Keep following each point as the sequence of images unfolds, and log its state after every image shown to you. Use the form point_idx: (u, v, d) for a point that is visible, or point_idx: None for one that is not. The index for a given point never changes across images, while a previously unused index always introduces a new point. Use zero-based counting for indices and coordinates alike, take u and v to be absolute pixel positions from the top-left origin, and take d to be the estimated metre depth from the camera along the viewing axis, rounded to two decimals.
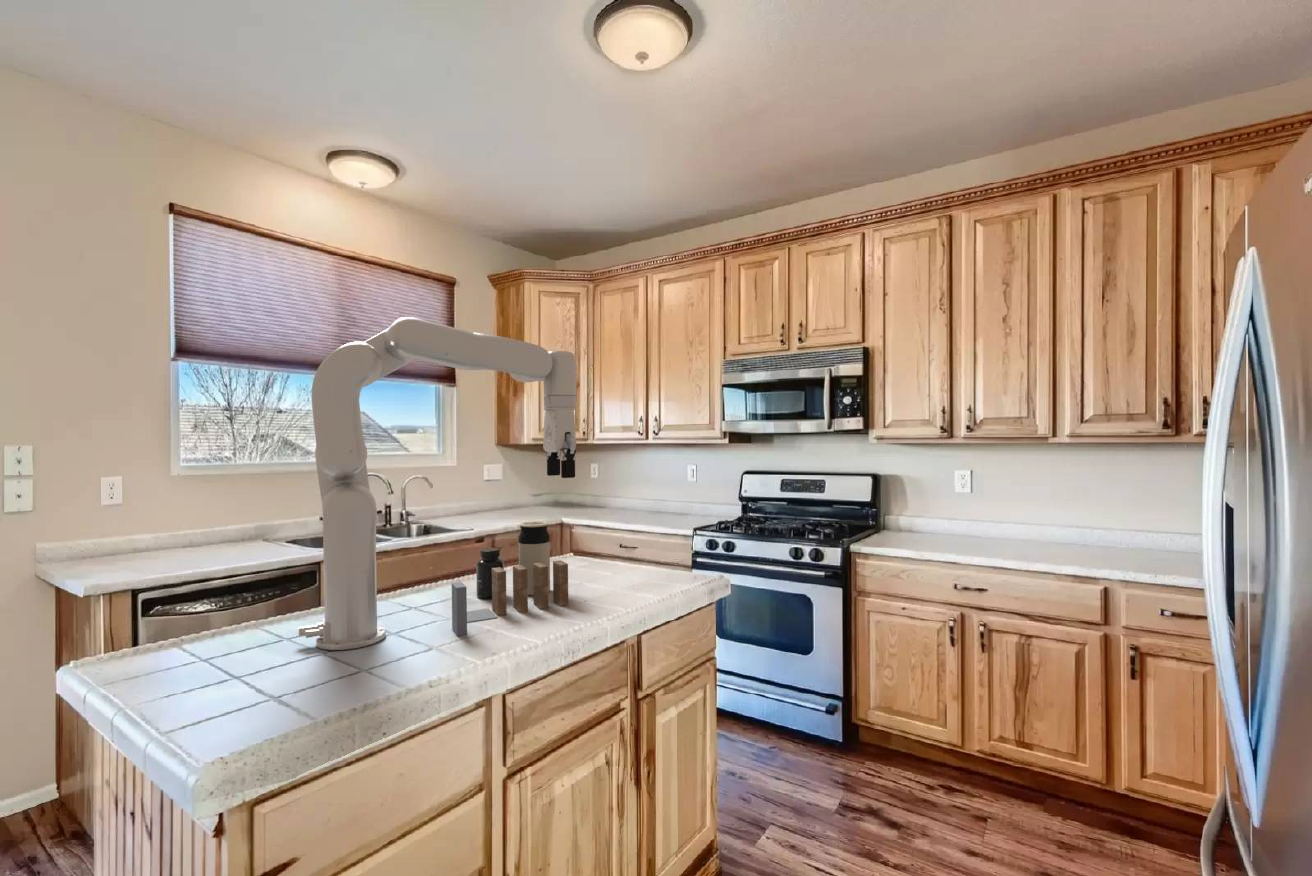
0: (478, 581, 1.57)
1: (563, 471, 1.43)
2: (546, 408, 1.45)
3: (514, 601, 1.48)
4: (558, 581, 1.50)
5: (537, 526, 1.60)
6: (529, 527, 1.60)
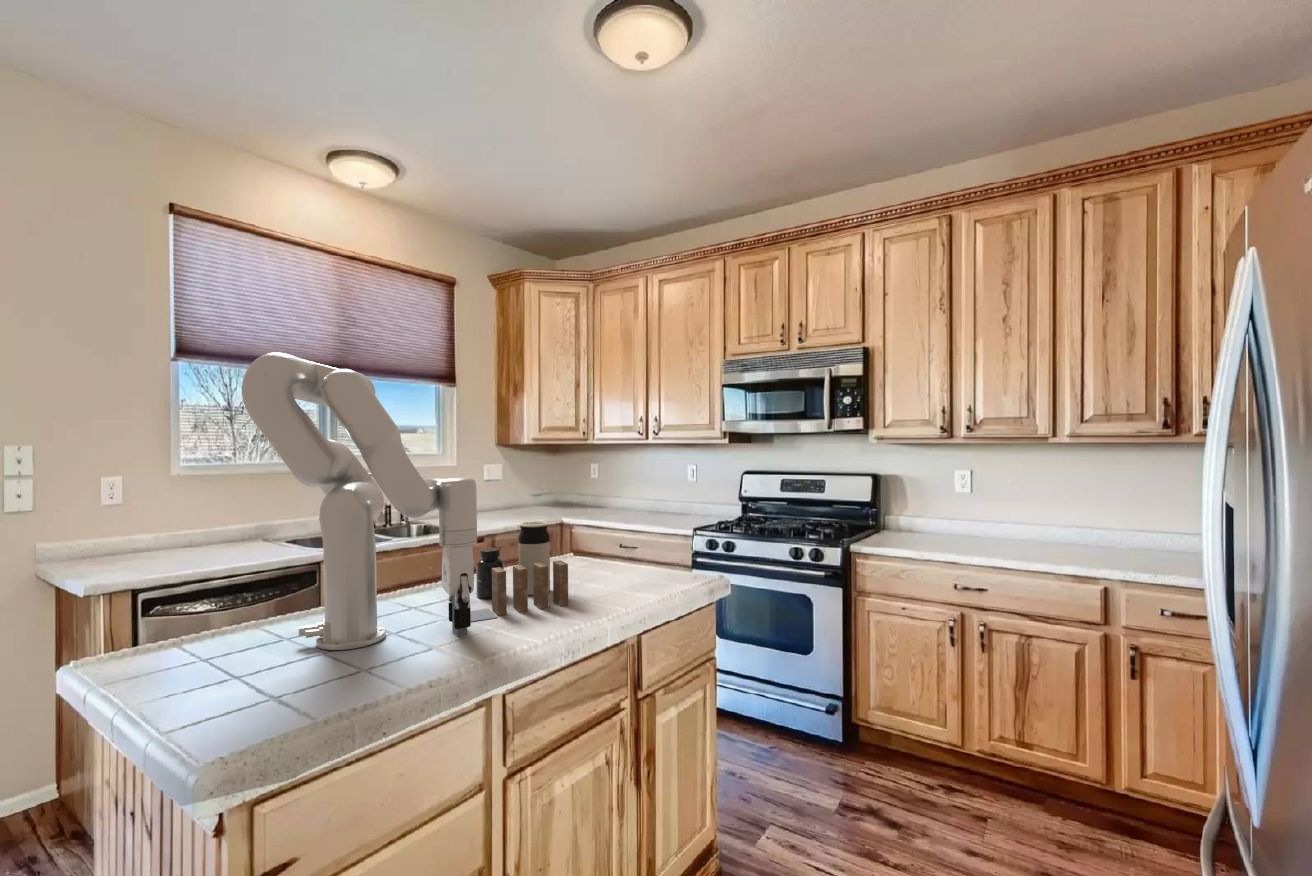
0: (478, 581, 1.57)
1: (456, 621, 1.28)
2: (441, 544, 1.28)
3: (514, 601, 1.48)
4: (558, 581, 1.50)
5: (537, 526, 1.60)
6: (529, 527, 1.60)
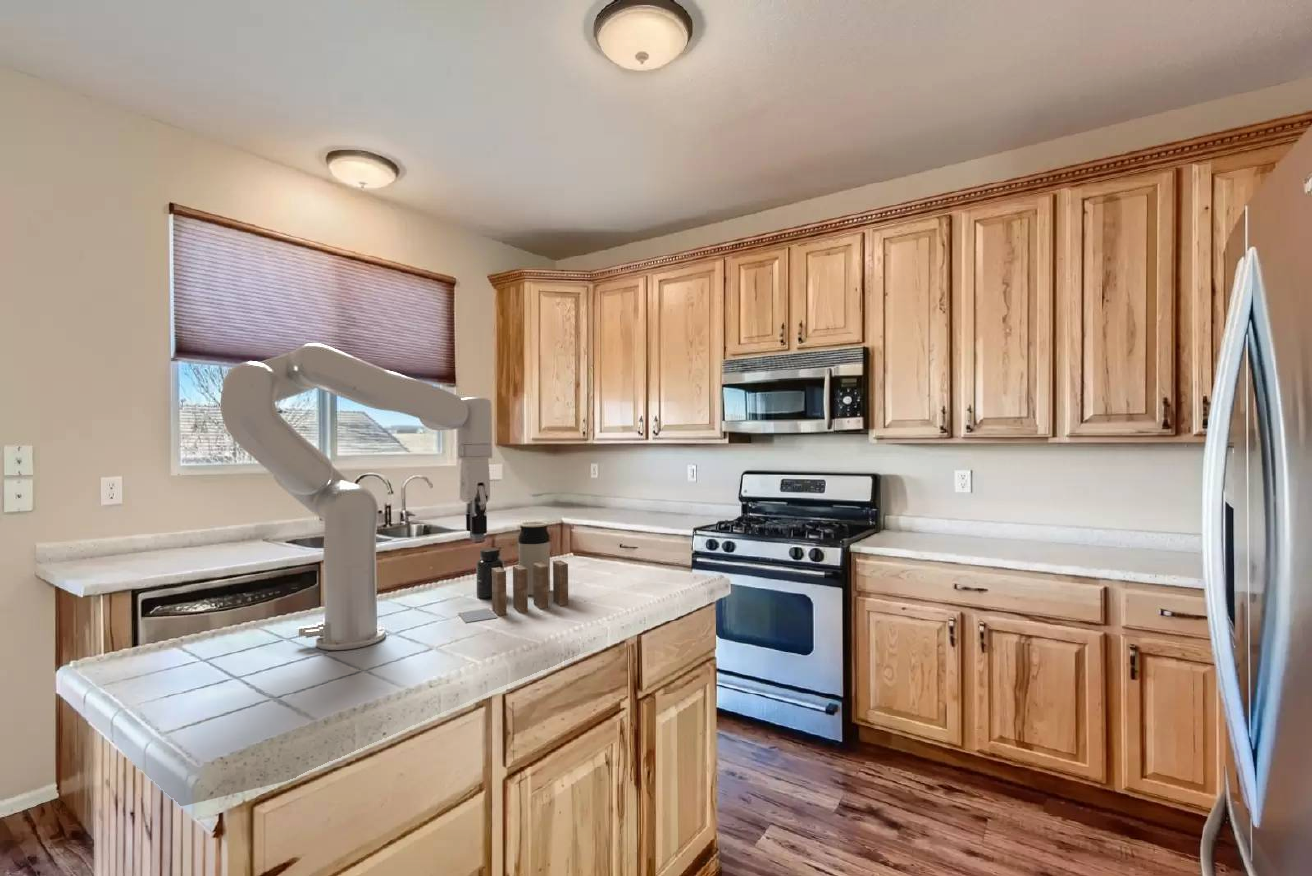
0: (478, 581, 1.57)
1: (474, 527, 1.39)
2: (459, 457, 1.40)
3: (514, 601, 1.48)
4: (558, 581, 1.50)
5: (537, 526, 1.60)
6: (529, 527, 1.60)
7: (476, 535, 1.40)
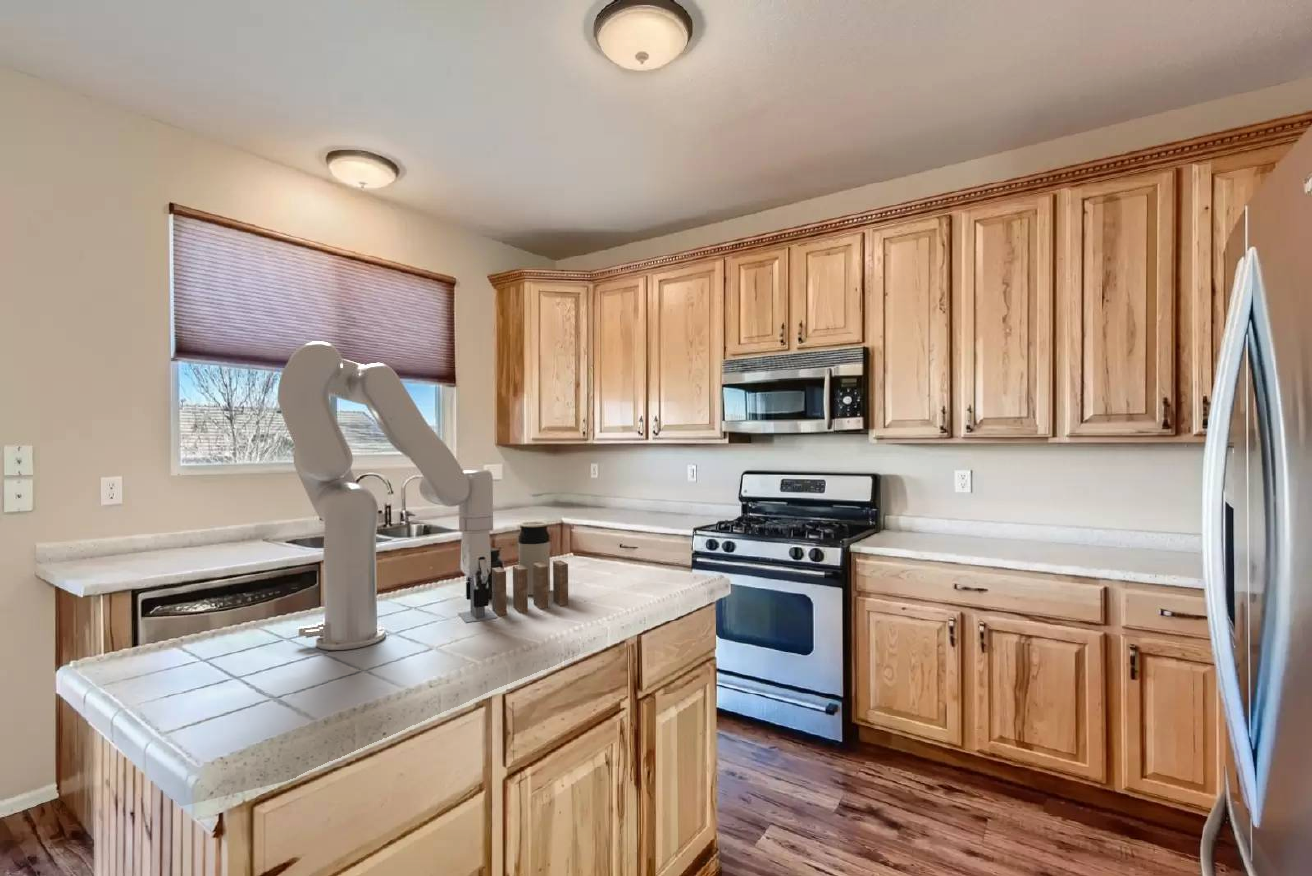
0: None
1: (475, 600, 1.38)
2: (460, 530, 1.40)
3: (514, 601, 1.48)
4: (558, 581, 1.50)
5: (537, 526, 1.60)
6: (529, 527, 1.60)
7: (477, 612, 1.40)
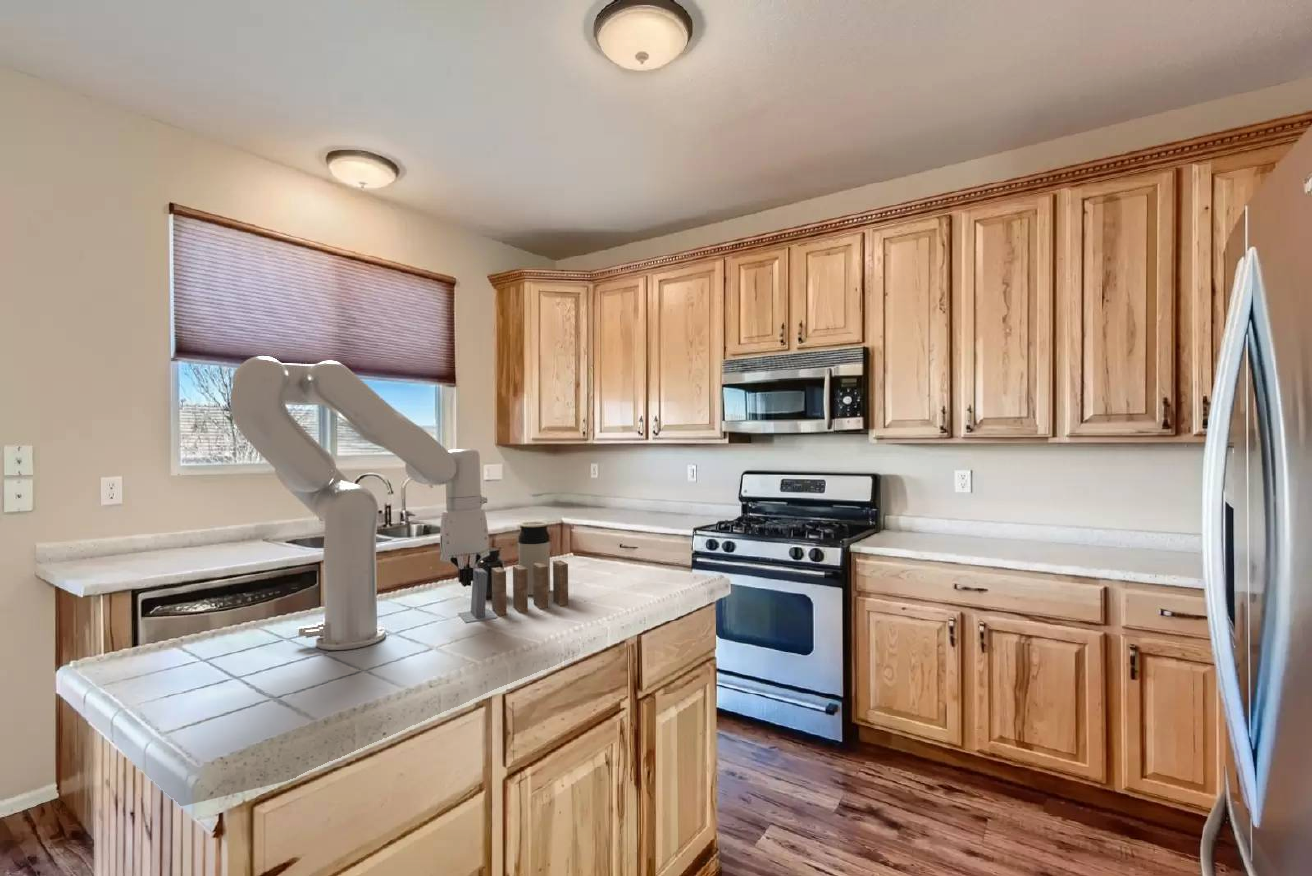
0: None
1: None
2: None
3: (514, 601, 1.48)
4: (558, 581, 1.50)
5: (537, 526, 1.60)
6: (529, 527, 1.60)
7: (477, 611, 1.40)
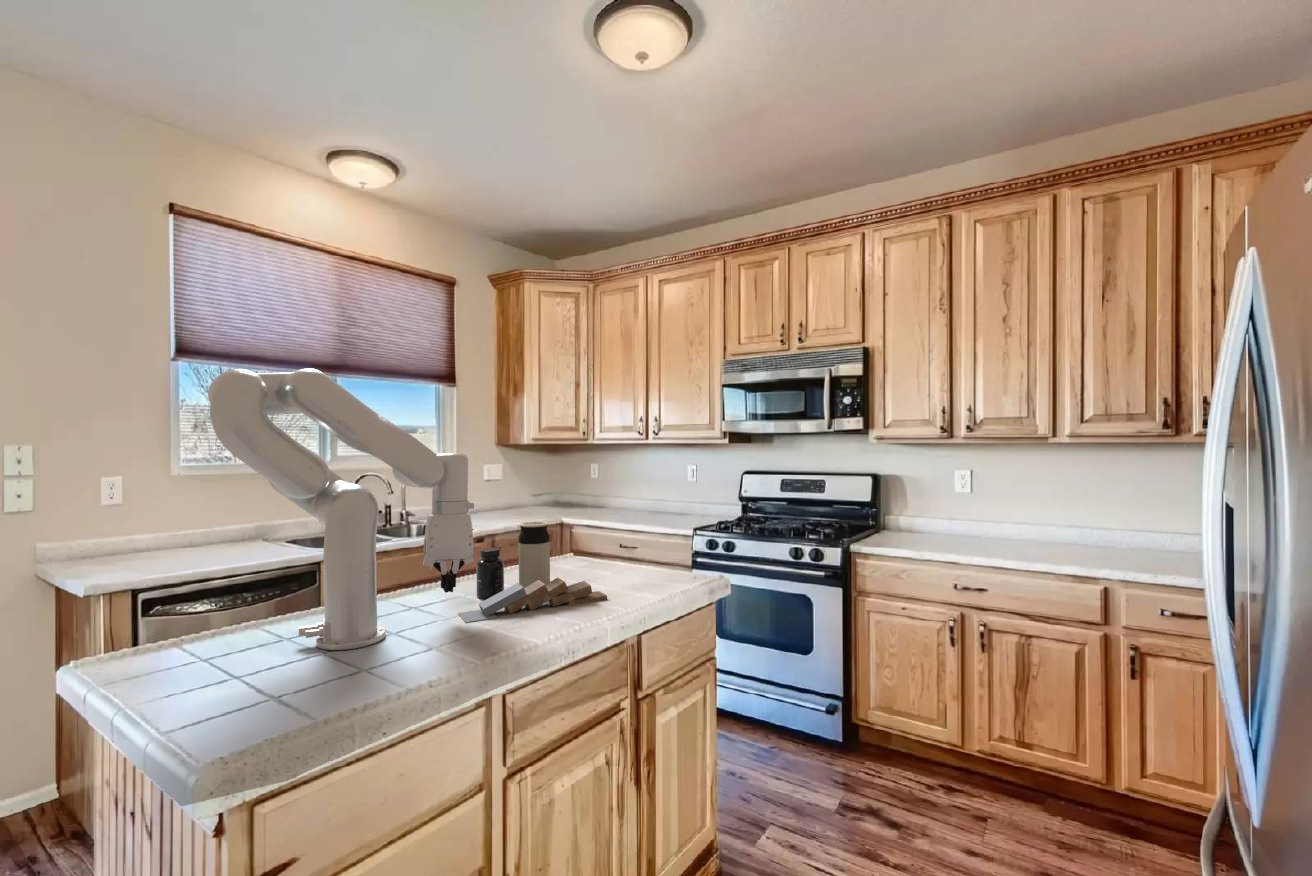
0: (478, 581, 1.57)
1: None
2: None
3: None
4: (589, 596, 1.54)
5: (537, 526, 1.60)
6: (529, 527, 1.60)
7: (489, 607, 1.41)
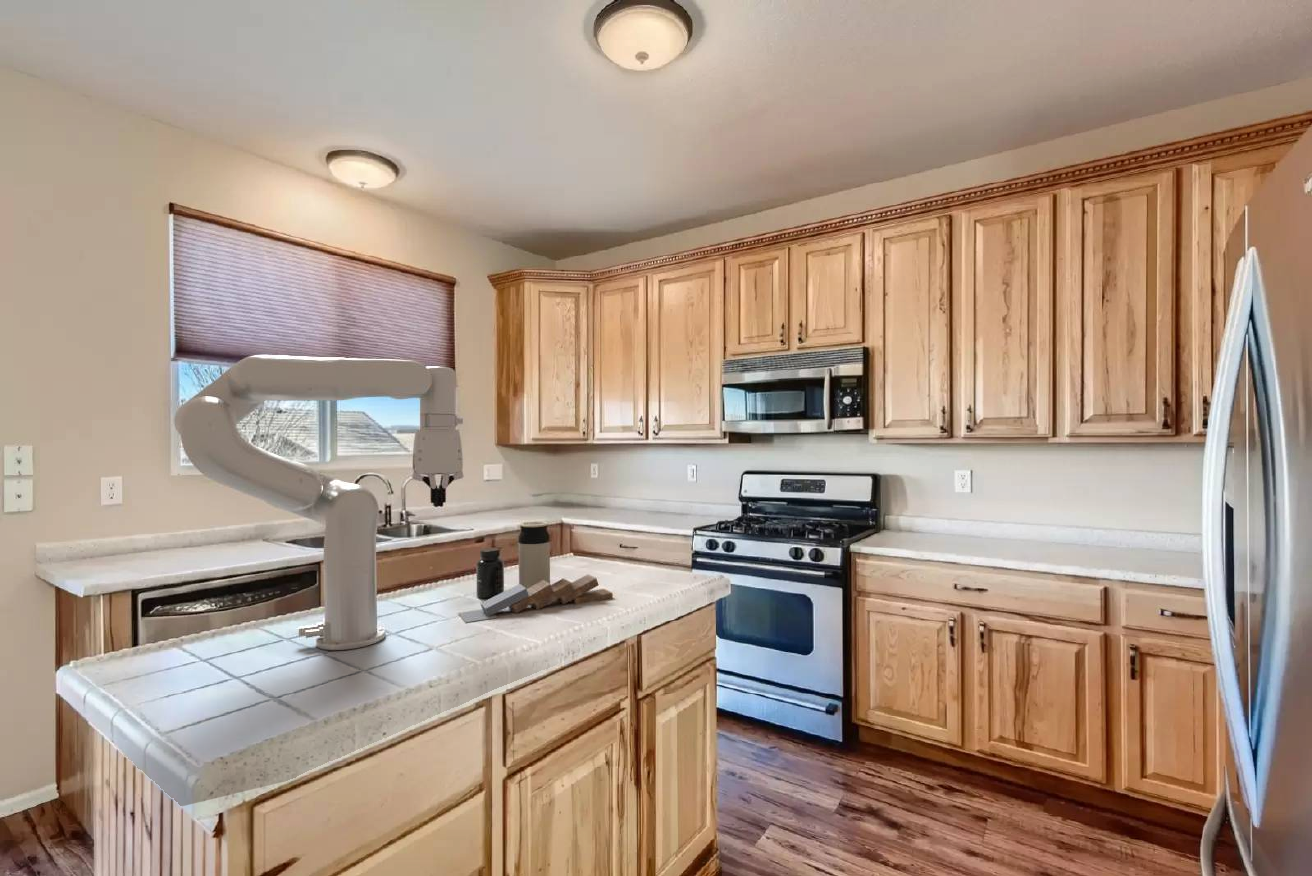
0: (478, 581, 1.57)
1: None
2: None
3: None
4: (595, 594, 1.55)
5: (537, 526, 1.60)
6: (529, 527, 1.60)
7: (491, 607, 1.42)
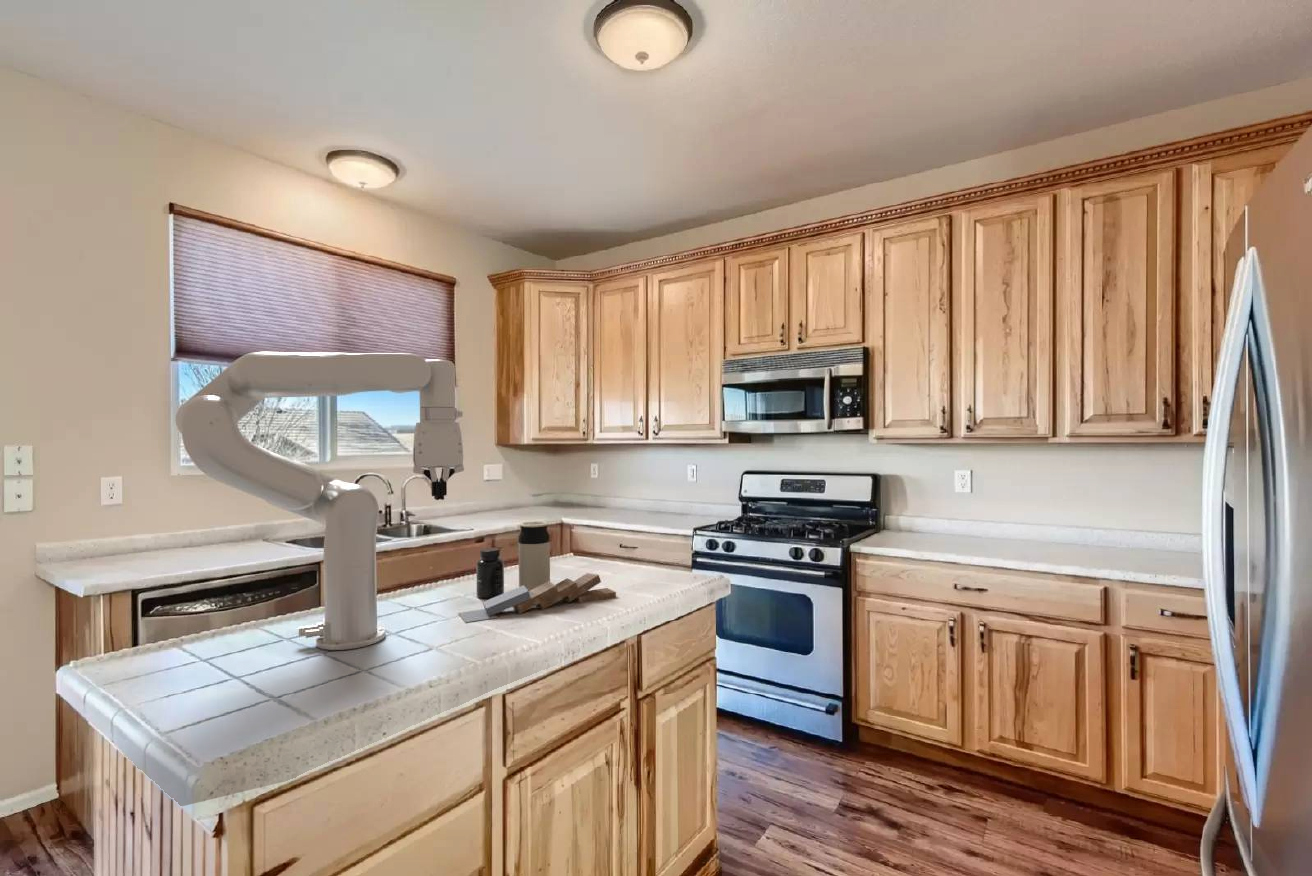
0: (478, 581, 1.57)
1: None
2: None
3: None
4: (599, 593, 1.56)
5: (537, 526, 1.60)
6: (529, 527, 1.60)
7: (492, 607, 1.41)
